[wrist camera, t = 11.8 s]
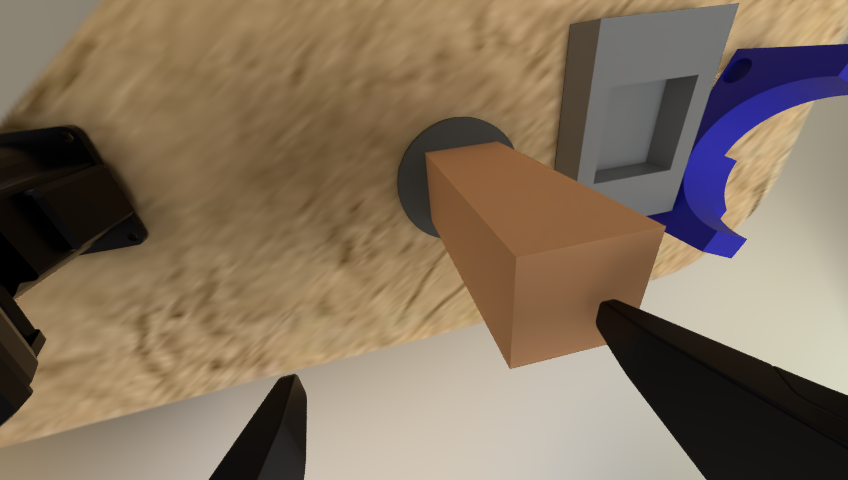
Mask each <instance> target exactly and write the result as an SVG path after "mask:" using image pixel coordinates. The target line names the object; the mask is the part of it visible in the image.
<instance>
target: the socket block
mask: <svg viewBox="0 0 848 480" xmlns="http://www.w3.org/2000/svg"><path fill="white" fill-rule="evenodd" d="M738 5H739V3H736V4H727V5H718V6H709V7H701V8H692V9H683V10H674V11H665V12H656V13H647V14H638V15H629V16H621V17H612V18H603V19H597V20H592V21H587V22H581V23H576V24H571V26H570V35H569V44H568V53H567V63H566V72H565V81H564V90H563V99H562V108H561V118H560V127H559V136H558V145H557V154H556V163H555V171H557V172H559V173H561V174H563V175H565V176H567V177H569V178H571V179H573V180H575V181H577V182H579V183H581V184H583V185H585V186H587V187H589V188H591V189H593V190H595V191H597V192H599V193H601V194H603V195H605V196H607V197H609V198H611V199H613V200H615V201H617V202H619V203H621V204H623V205H625V206H627V207H629V208H631V209H633V210H635V211H637V212H639V213H641V214H643V215H644V216H648V215H653V214H658V213H663V212H668V211H672V209H673V206H674V203H675V200H676V196H677V193H678V190H679V187H680V184H681V181H682V178H683V175H684V172H685V169H686V166H687V163H688V159H689V156H690V153H691V150H692V147H693V144H694V141H695V138H696V135H697V132H698V129H699V126H700V122H701V119H702V116H703V113H704V110H705V107H706V104H707V101H708V98H709V95H710V92H711V89H712V85H713V82H714V79H715V76H716V73H717V70H718V67H719V64H720V61H721V58H722V55H723V52H724V48H725V45H726V42H727V39H728V36H729V33H730V30H731V27H732V24H733V21H734V18H735V14H736V11H737V8H738Z"/></svg>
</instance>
